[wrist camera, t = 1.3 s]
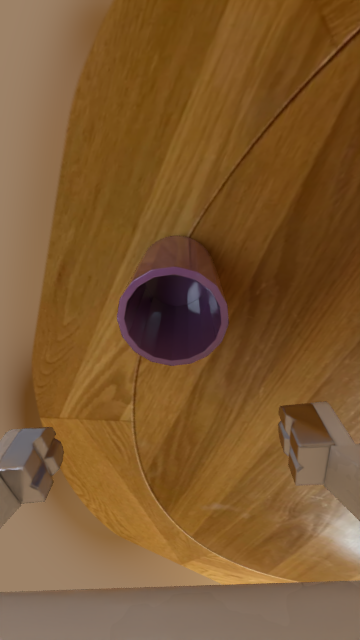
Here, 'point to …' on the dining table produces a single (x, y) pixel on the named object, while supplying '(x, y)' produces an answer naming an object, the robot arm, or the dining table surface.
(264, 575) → the dining table surface
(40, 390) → the dining table surface
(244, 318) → the dining table surface
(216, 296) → the cup
